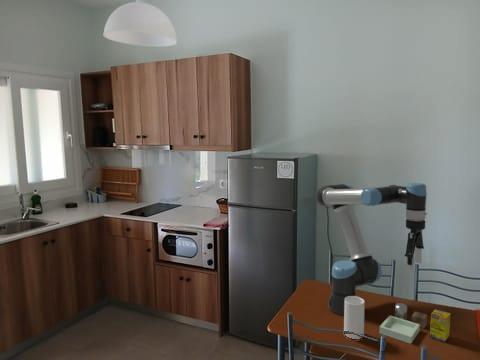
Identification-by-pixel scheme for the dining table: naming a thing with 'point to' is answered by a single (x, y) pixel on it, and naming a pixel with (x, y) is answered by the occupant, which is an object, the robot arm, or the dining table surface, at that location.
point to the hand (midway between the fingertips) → (414, 267)
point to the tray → (399, 329)
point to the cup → (354, 316)
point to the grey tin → (401, 311)
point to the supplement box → (440, 325)
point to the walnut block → (420, 319)
